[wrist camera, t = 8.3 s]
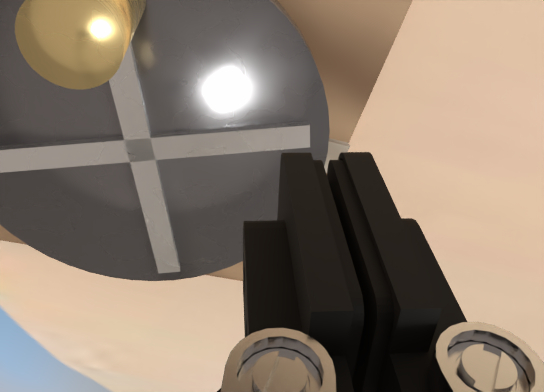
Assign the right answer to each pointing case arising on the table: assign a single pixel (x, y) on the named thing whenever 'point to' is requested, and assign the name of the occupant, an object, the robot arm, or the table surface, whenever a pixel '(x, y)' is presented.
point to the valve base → (337, 65)
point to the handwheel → (150, 128)
